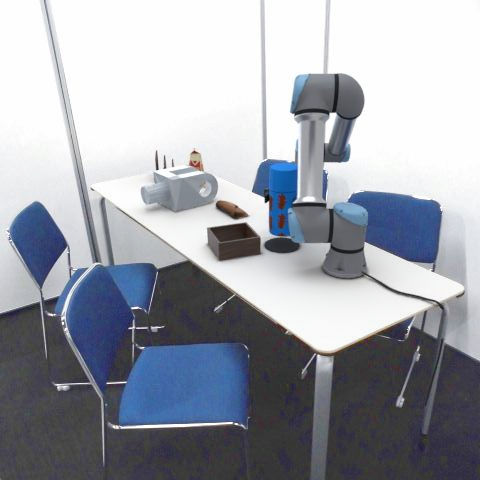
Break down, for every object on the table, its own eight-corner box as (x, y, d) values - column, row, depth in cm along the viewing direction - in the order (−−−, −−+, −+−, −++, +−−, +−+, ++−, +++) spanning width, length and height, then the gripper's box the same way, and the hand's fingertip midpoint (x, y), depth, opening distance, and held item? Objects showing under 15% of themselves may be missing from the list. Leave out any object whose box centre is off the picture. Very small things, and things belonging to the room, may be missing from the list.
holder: (260, 254, 181) (260, 237, 177) (219, 260, 177) (218, 243, 173) (246, 238, 194) (246, 222, 191) (207, 243, 190) (206, 227, 186)
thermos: (294, 237, 179) (297, 171, 165) (266, 236, 181) (267, 170, 167) (297, 226, 188) (300, 163, 174) (270, 225, 189) (272, 162, 176)
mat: (305, 249, 183) (305, 248, 183) (272, 255, 180) (272, 253, 180) (291, 236, 195) (291, 235, 194) (259, 241, 191) (259, 240, 191)
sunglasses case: (250, 214, 216) (243, 203, 211) (238, 224, 215) (232, 214, 210) (230, 203, 229) (223, 193, 224) (219, 213, 228) (213, 203, 224)
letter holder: (157, 182, 263) (154, 156, 255) (157, 172, 279) (155, 148, 271) (174, 181, 263) (172, 155, 256) (174, 172, 280) (172, 147, 272)
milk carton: (204, 187, 254) (202, 148, 243) (187, 187, 254) (184, 149, 243) (206, 182, 262) (203, 144, 251) (189, 182, 262) (186, 145, 251)
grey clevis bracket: (198, 191, 247) (196, 162, 239) (218, 201, 234) (217, 170, 226) (138, 206, 230) (133, 175, 222) (156, 216, 217) (152, 184, 209)
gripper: (324, 196, 189) (310, 214, 172) (269, 190, 196) (250, 207, 179) (325, 177, 185) (311, 194, 168) (269, 172, 192) (250, 188, 175)
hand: (280, 201), depth 174 cm, fingers closed on thermos, 11 cm apart
